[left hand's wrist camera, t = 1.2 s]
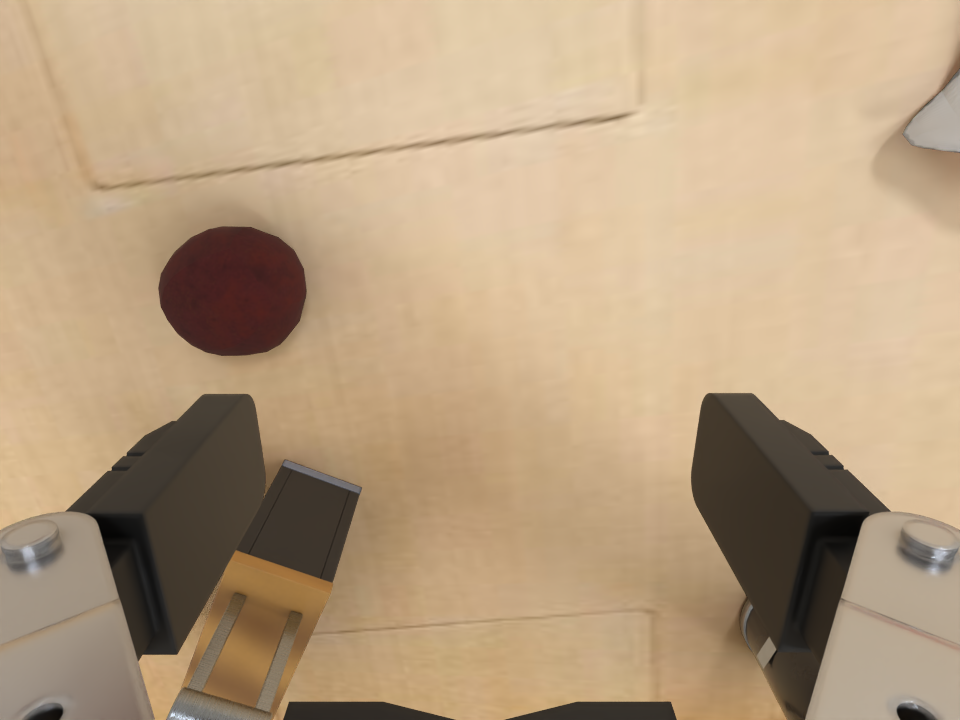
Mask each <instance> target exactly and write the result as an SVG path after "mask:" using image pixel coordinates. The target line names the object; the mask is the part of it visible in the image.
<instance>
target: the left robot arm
mask: <svg viewBox="0 0 960 720" xmlns="http://www.w3.org/2000/svg"><path fill="white" fill-rule="evenodd" d="M265 483H266V476H265V466H264V460H263V453H262V447H261V440H260V433H259V427H258V420H257V414H256V408H255V404H254V401H253V399H252V397H251V396H250V395H248V394H204V395H202V396H201V397H200V398H199V399H198V400H197V401H196V402H195V403H194V404H193V405H192V406H191V407H190V408H189V409H188V410H187V411H186V412H185V413H184V414H183V415H182V416H181V417H180V418H179V419H178V420H177V421H171V422H170V423H168V424H166V425H164V426H162V427H160V428H158V429H157V430H155V431H153V432H151V433H149V434H147V435H145V436H144V437H143V438H142V439H141V440H140V441H139V442H138V443H137V444H136V445H135V446H134V447H132V448H131V449H130V450H129V451H128V452H127V456H123V457H122V458H121V459H120V460H119V461H118V462H117V463H116V464H115V465H114V466H113V467H112V471H107V472H106V473H105V474H104V475H103V476H102V477H101V478H100V479H99V480H98V481H97V482H96V483H95V484H94V485H93V486H92V487H91V488H90V489H88V490H87V491H86V492H85V493H84V494H83V495H82V496H81V497H80V498H79V499H78V500H77V501H76V502H75V503H74V504H73V505H72V506H71V507H70V508H69V509H67V510H66V511H65V512H56V513H49V514H44V515H39V516H35V517H32V518H28V519H25V520H22V521H20V522H17V523H15V524H12V525H10V526H7V527H5V528H3V529H1V530H0V720H155V718H154V715H153V711H152V708H151V704H150V701H149V697H148V694H147V691H146V687H145V684H144V680H143V677H142V673H141V670H140V666H139V663H138V661H139V660H140V658H141V656H142V655H177V654H178V652H179V650H180V649H181V647H182V645H183V643H184V641H185V640H186V638H187V636H188V634H189V633H190V631H191V629H192V627H193V625H194V624H195V622H196V620H197V618H198V617H199V615H200V613H201V611H202V609H203V608H204V606H205V604H206V602H207V601H208V599H209V597H210V595H211V593H212V592H213V590H214V588H215V586H216V585H217V583H218V581H219V579H220V577H221V576H222V574H223V572H224V570H225V569H226V567H227V565H228V563H229V561H230V560H231V558H232V556H233V554H234V553H235V551H236V549H237V547H238V545H239V544H240V542H241V540H242V538H243V537H244V535H245V533H246V531H247V529H248V528H249V526H250V524H251V522H252V521H253V519H254V517H255V515H256V513H257V512H258V510H259V508H260V506H261V504H262V501H263V497H264V492H265ZM691 485H692V492H693V497H694V500H695V503H696V506H697V508H698V509H699V511H700V513H701V515H702V517H703V518H704V520H705V522H706V524H707V526H708V527H709V529H710V531H711V533H712V535H713V536H714V538H715V540H716V542H717V544H718V545H719V547H720V549H721V551H722V553H723V554H724V556H725V558H726V560H727V562H728V563H729V565H730V567H731V569H732V571H733V572H734V574H735V576H736V578H737V580H738V581H739V583H740V585H741V587H742V589H743V590H744V592H745V594H746V596H747V598H748V600H747V601H746V603H745V605H744V607H743V609H742V612H741V617H740V628H741V632H742V635H743V637H744V639H745V641H746V643H747V645H748V647H749V648H750V650H751V651H752V652H753V653H754V655H755V657H756V659H757V661H758V663H759V665H760V667H761V669H762V671H763V673H764V675H765V678H766V680H767V682H768V684H769V686H770V687H771V689H772V691H773V693H774V695H775V697H776V699H777V701H778V703H779V705H780V707H781V709H782V711H783V713H784V715H785V717H786V719H787V720H960V530H959V529H957V528H955V527H953V526H950V525H948V524H945V523H943V522H940V521H938V520H935V519H932V518H928V517H925V516H921V515H916V514H911V513H904V512H891V511H890V510H889V509H888V508H887V507H886V506H885V505H884V504H883V503H882V502H880V501H879V500H878V499H877V498H876V497H875V496H874V495H873V494H872V493H871V492H870V491H869V490H868V489H867V488H866V487H865V486H864V485H863V484H862V483H861V482H860V481H859V480H858V479H857V478H856V477H855V476H853V475H852V474H851V473H850V472H849V471H848V470H844V468H843V465H842V464H841V463H840V462H839V461H838V460H837V459H836V458H835V457H834V456H833V455H829V451H828V450H826V449H825V448H824V447H823V446H822V445H821V444H820V443H819V442H818V441H817V440H816V439H815V438H814V437H813V436H812V435H811V434H809V433H807V432H805V431H803V430H801V429H800V428H798V427H796V426H794V425H792V424H790V423H788V422H786V421H785V420H779V419H778V418H777V417H776V416H775V415H774V414H773V413H772V412H771V411H770V410H769V409H768V408H767V407H766V406H765V405H764V404H763V403H762V402H761V401H760V400H759V399H758V398H757V397H756V396H755V395H754V394H752V393H708V394H707V395H706V396H705V397H704V399H703V401H702V405H701V410H700V417H699V423H698V430H697V437H696V444H695V450H694V457H693V464H692V471H691ZM283 720H454V719H450V718H446V717H442V716H438V715H434V714H430V713H426V712H422V711H418V710H414V709H410V708H406V707H402V706H398V705H394V704H390V703H386V702H289V704H288V707H287V710H286V713H285V716H284V719H283ZM506 720H677V719H676V716H675V713H674V710H673V707H672V704H671V702H574V703H570V704H566V705H562V706H558V707H554V708H550V709H546V710H542V711H538V712H534V713H530V714H526V715H522V716H518V717H514V718H510V719H506Z"/></svg>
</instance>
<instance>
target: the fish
mask: <svg viewBox="0 0 960 720" xmlns="http://www.w3.org/2000/svg"><path fill="white" fill-rule="evenodd" d="M903 135H904V137H905V138H906V139H907V140H908V142H909V143H910V144H911V145H913V146H917V147H921V148H927V149H934V150H942V151H949V152H957V153H960V69H959V70H958V71H957V72H956V74H955V75H954V76H953V77H952V79H951V80H950V81H949V82H948V84H947V85H946V86H945V87H944V89H943V90H942V91H941V92H940V93H939V94H938V95H936V96H935V97H934V98H933V99H932V100H931V101H930V102H929V103H927V104H926V105H925V106H924V107H923V108H922V109H921V110H920V112H919V113H918V114H917V115H916V116H915V117H914V118H913V119H912V120H911V121H910V123H909V124H908V125H907V126H906V128H905V130H904V132H903Z"/></svg>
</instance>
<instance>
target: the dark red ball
mask: <svg viewBox="0 0 960 720" xmlns="http://www.w3.org/2000/svg"><path fill="white" fill-rule="evenodd" d="M159 296H160V304H161V308H162V310H163V312H164V314H165V316H166V318H167V320H168V321H169V323H170V324H171V325H172V327H173V328H174V329H175V331H176V332H177V333H178V334H179V335H180V336H181V337H182V338H184V339H185V340H186V341H187V342H188V343H190V344H191V345H192V346H194V347H197V348H199V349H201V350H203V351H205V352H208V353H212V354H217V355H221V356H239V355H251V354H257V353H263V352H267V351H269V350H271V349H273V348H275V347H276V346H278V345H280V344H281V343H282V342H283V341H284V340H285V339H286V338H287V336H288V335H289V334H290V333H291V331H292V330H293V329H294V328H295V326H296V325H297V324H298V322H299V321H300V317H301V313H302V309H303V305H304V302H305V298H306V283H305V275H304V268H303V266H302V264H301V262H300V261H299V259H298V257H297V255H296V253H295V251H294V250H293V249H292V248H291V247H290V246H288V245H287V244H286V243H285V242H283V241H282V240H281V239H280V238H279V237H276V236H273V235H270V234H268V233H265V232H262V231H260V230H257V229H254V228H251V227H218V228H213V229H208V230H206V231H204V232H202V233H200V234H198V235H196V236H194V237H191V238H190V239H189V240H188V241H187V242H186V243H184V244H183V245H182V246H181V247H180V248H179V249H178V250H176V251H175V252H174V254H173V255H172V257H171V258H170V260H169V261H168V263H167V265H166V266H165V268H164V270H163V271H162V273H161V277H160V283H159Z"/></svg>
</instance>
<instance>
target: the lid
mask: <svg viewBox="0 0 960 720" xmlns="http://www.w3.org/2000/svg"><path fill="white" fill-rule="evenodd" d="M332 587H333V583H331V582H328V581H325V580H322V579H319V578H316V577H314V576H311V575H308V574H305V573H302V572H299V571H296V570H293V569H290V568H287V567H284V566H281V565H278V564H275V563H272V562H269V561H266V560H263V559H260V558H257V557H254V556H251V555H248V554H245V553H242V552H240V551H237V550H236V551H235V553H234V554H233V556H232V558H231V560H230V561H229V563H228V565H227V567H226V569H225V571H224V574H223V576H222V579H221V582H220V584H219V587H218V590H217V593H216V595H215V598H214V601H213V603H212V606H211V609H210V612H209V614H208V617H207V620H206V622H205V625H204V628H203V631H202V633H201V636H200V639H199V641H198V644H197V647H196V650H195V652H194V655H193V658H192V660H191V663H190V666H189V668H188V671H187V674H186V677H185V679H184V682H183V685H182V687H181V690H180V692H179V694H178V696H177V698H176V700H175V702H174V704H173V706H172V708H171V710H170V712H169V714H168V717H167V719H166V720H273V718H274V716H275V714H276V711H277V709H278V707H279V705H280V703H281V700H282V698H283V696H284V694H285V692H286V690H287V687H288V685H289V683H290V681H291V679H292V676H293V674H294V672H295V670H296V668H297V666H298V663H299V661H300V659H301V657H302V655H303V652H304V650H305V648H306V646H307V644H308V641H309V639H310V637H311V635H312V633H313V631H314V628H315V626H316V624H317V622H318V620H319V617H320V615H321V613H322V611H323V609H324V607H325V604H326V602H327V600H328V598H329V596H330V593H331V590H332Z"/></svg>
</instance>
